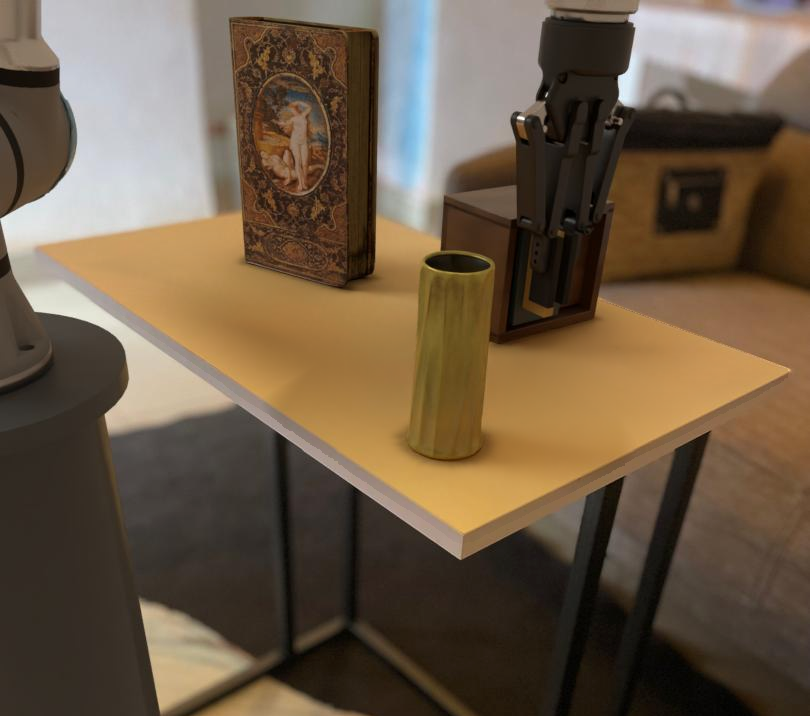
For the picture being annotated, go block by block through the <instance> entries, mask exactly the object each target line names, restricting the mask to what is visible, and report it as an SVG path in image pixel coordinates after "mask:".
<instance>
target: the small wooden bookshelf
mask: <svg viewBox="0 0 810 716" xmlns="http://www.w3.org/2000/svg"><path fill="white" fill-rule="evenodd" d="M592 206H593V205H590V207H592ZM615 206H616V201H613V200H610V199H607V201H606V205H605V208H604V212H603V215H602V218H601V220H600V222H598V223H591V224H590V225H589V226H592V227H594V228H593V231H592V232H591V234H589V235H585V234H582V238H581V244H580V249H579V256H578V261H577V263H576V265H575V266H574V269H573V275H572V281H571V287H570V294H569V300H568V304H565V305H561V304H560V305H559V312H558V315H554V316H550V317H546V318H542V319H538V320H534V321H530V322H526V323H523V324H519V325H515V326H512V325H510V324H508V318H509V310H510V301H511V293H512V285H513V276H514V268H515V259H516V251H517V242H518V234H519V229H521V227H519V226H518V225H517V192H516V184H513V185H506V186H505V185H504V186H498V187H491V188H484V189H477V190H470V191H462V192H456V193H449V194H443V202H442V220H441V234H440V249H439V251H466V252H471V253H476V254H480V255H483V256H485V257H488V258H490V259H491V260H493V261H494V263H495V277H494V291H493V300H492V309H491V320H490V335H489V341H491V342H493V343H495V344H501V343H505V342H509V341H513V340H516V339H520V338H523V337H527V336H528V337H529V336H532V335H535V334H539V333H542V332H546V331H550V330H554V329H558V328H563V327H565V326H569V325H573V324H578V323H581V322H584V321H588V320H592V319H595V317H596V311H597V305H598V301H599V300H598V299H599V294H600V288H601V284H602V283H601V282H602V279H603V272H604V267H605V261H606V257H607V256H606V255H607V249H608V245H609V240H610V239H609V238H610V234H611V229H612V228H611V227H612V222H613V216H614V211H615ZM545 221H546V220H545Z"/></svg>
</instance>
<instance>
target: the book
mask: <svg viewBox="0 0 810 716" xmlns="http://www.w3.org/2000/svg"><path fill="white" fill-rule="evenodd" d="M228 23H229V24H228V27H229V40H230V55H231V71H232V84H233V85H232V86H233V101H234V117H235V129H236V130H235V131H236V143H237V159H238V174H239V175H238V176H239V191H240V204H241V205H240V206H241V218H242V233H243V234H242V235H243V249H244V262H245V263H247V264H251V265H254V266H258V267H262V268H266V269H270V270H273V271H276V272H280V273H283V274H287V275H290V276H294V277H298V278H301V279H305V280H309V281H312V282H316V283H320V284H324V285H328V286H333V287H337V288H343V287H346V286H347V285H348V282H349V281H351V280H353V279H357V278H364V277H369V276H371V275H373V273H374V271H375V267H376V250H377V249H376V247H377V195H378V194H377V193H378V192H377V191H378V189H377V187H378V185H377V184H378V137H379V136H378V135H379V132H378V130H379V129H378V128H379V80H380V79H379V73H380V72H379V69H380V36H379V32H378V31H377V30H376V29H374V28H369V27H359V26H350V25H344V24H343V25H342V24H335V23H334V24H332V23H325V22H315V21H308V20H307V21H306V20H298V19H297V20H296V19H288V18H278V17H270V16H233V17H229V18H228Z"/></svg>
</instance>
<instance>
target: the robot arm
mask: <svg viewBox="0 0 810 716" xmlns="http://www.w3.org/2000/svg"><path fill="white" fill-rule="evenodd" d="M640 1H641V0H544V3H543V5H544V7H545V8H546V9H547V10H550V12H549V16H546V17H545V18H544V20H543V21H542V22H541V30H540V37H539V47H538V53H537V64H538V67H539V68H540V69H541V72H542V76H541V77H542V78H541V82H540V85H539V87H538V89H537V92H536V93H535V94H536V95H535V102H534V103H533V104H532V105H531V106H529V107H528V108H527V109H526V110H525V111H524V112H523V111H518V110H515V111H514V112H512V114H511V115H510V119H509V123H510V127H511V129H512V134H513V136H514V137H513V138H514V140H515V168H516V169H515V176H516V177H515V178H516V179H515V180H516V181H515V183H516V184H515V185H516V192H517V225H518V226H519V227H521V228H524V229H526V230H529V231H531V232H532V234H533V241H532V249H531V258H530V269H532V277H531V284H530V292H529V299H528V300H530V301H532V302H534V303H536V304H538V305H541V306H543V307H545V308H547V309H549V308H553V307H554V300H555V302H556V303H558V304H561V305H565V304H568V300H569V294H570V287H571V281H572V275H573V269H574V266H575V265H576V263H577V261H578V256H579V249H580V244H581V238H582V234H585V235H589V234H591V232H592V231H593V228H594V227H592V226H589V225H590V224H591V223H598V222H600V220H601V218H602V215H603V212H604V208H605V205H606V201H607V200H608V198H609V193H610V191H611V187H612V184H613V180H614V177H615V173H616V170H617V166H618V163H619V159H620V156H621V152H622V149H623V146H624V142H625V138H626V136H627V134H628V132H629V130H630V128H631V127H632V125H633V123H634V121H635V119H636V115H637V111H636V108H635V107H632V106H627V105H624V104H623V103H622V101H621V100H619V99H620V98H619V97H620V88H619V76H622V75H624V74H626V73H627V72H628V71H629V68H630V63H631V57H632V51H633V46H634V40H635V35H636V26H634V24H635V23H634V22H632V21H629V20H630V15H635V14H636V13H637V12H638V11H639V6H640ZM60 77H61V63H60V58H59V57H58V55H57V54H56V53H55V51H53V49H52V48H51V47H50V45H49V44H48V43H47V41H46V40H45V39H44V36H43V35H42V0H0V395H3V394H6V393H9V392H12V391H15V390H17V389H20V388H22V387H24V386H27V385H29V384H30V383H32V382H34V381H36V380H37V379H39V378H40V377H41V376H43V375H44V374H45V373H46V372H47V371H48V370H49V369H50V368H51V366H52V364H53V361H54V356H53V351H52V347H51V342H50V340H49V337H48V334H47V332H46V330H45V328H44V327H43V325H42V323H41V321H40V320H39V318H38V316H37V315H36V313H35V312H36V311H35V309H34V308H33V306H32V305H31V302H30V301H29V300H28V298H27V296H26V294H25V292H24V291H23V289H22V287H21V286H20V285H19V283H18V281H17V278H16V277H15V275H14V272H13V268H12V265H11V264H12V263H11V260H10V256H9V252H8V246H7V243H6V238H5V234H4V229H3V225H2V221H1V219H3V218H4V217H6V216H9V215H10V214H12V213H13V212H15V211H17V210H18V209H20V208H22V207H24V206H26V205H27V204H31V203H33V202H36V201H38V200H40V199H42V198H44V197H45V196H46V195H47V194H50V193H51V191H53V190H54V189H55V188H56V187H57V186H58V185H59V183H60V182H61V181H62V180H63V179H64V178H65V176H66V175H67V174H68V172H69V171H70V169H71V168H72V165H73V162H74V160H75V157H76V153H77V147H78V128H77V122H76V117H75V116H74V112H73V109H72V107H71V104H70V101H69V99H66V98H65V96H64V93H63V92H62V90H61V78H60ZM590 205H593V206H592V207H590ZM545 220H546V221H545ZM560 224H561V226H562V227H563V229H560V228H559V225H560ZM558 230H560V231H562V232H565V235H564V238H563V237H560V236H557V234H558ZM562 247H563V248H562ZM561 254H562V255H561ZM560 260H561V261H560ZM559 267H560V268H559ZM558 274H559V275H558ZM557 280H558V281H557ZM556 287H557V288H556ZM555 293H556V295H555Z"/></svg>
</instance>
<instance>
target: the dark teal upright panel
mask: <svg viewBox="0 0 810 716" xmlns="http://www.w3.org/2000/svg"><path fill="white" fill-rule="evenodd" d="M559 228H560V229H563V227H562V226H561V224H560V225H559ZM564 235H565V232H562V231H560V230H558V234H557V236H560V237H563V238H564ZM532 241H533V234H532V232H531V231H529V230H526V229H524V228H521V229H519V234H518V242H517V251H516V259H515V268H514V276H513V285H512V293H511V301H510V310H509V318H508V324H510V325H512V326H515V325H519V324H523V323H526V322H530V321H534V320H538V319H542V318H546V317H550V316H554V315H558V312H559V305H560V304H558V303H556V302H555V300H554V307H553V308H549V309H547V308H545V307H543V306H541V305H538V304H536V303H534V302H532V301H530V300H528V299H529V292H530V284H531V277H532V269H530V258H531V249H532ZM562 248H563V247H562ZM561 255H562V254H561ZM560 261H561V260H560ZM559 268H560V267H559ZM558 275H559V274H558ZM557 281H558V280H557ZM556 288H557V287H556ZM555 295H556V293H555Z"/></svg>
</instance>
